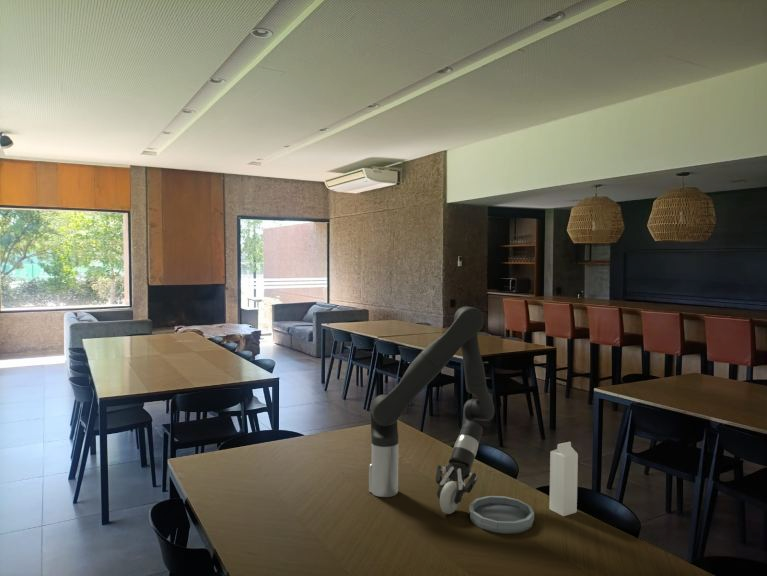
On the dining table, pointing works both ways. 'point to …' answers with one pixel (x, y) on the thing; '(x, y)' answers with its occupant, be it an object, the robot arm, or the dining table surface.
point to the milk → (563, 479)
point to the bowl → (501, 514)
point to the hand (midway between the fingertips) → (447, 500)
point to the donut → (449, 497)
